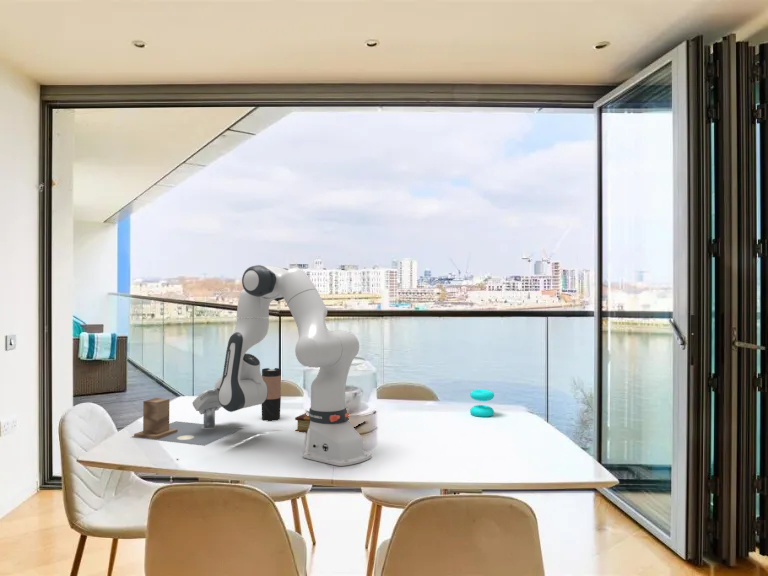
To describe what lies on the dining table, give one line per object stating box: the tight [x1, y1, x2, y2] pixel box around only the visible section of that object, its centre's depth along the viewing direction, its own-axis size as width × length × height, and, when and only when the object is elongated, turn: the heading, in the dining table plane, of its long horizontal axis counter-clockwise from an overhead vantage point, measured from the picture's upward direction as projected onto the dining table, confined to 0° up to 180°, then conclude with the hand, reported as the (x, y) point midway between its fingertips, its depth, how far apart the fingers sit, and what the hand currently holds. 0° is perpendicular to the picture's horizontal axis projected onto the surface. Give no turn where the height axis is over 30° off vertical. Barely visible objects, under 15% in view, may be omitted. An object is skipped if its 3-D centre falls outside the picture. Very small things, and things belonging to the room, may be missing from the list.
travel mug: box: [261, 367, 282, 422], centre depth 222 cm, size 8×8×20 cm
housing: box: [133, 397, 178, 439], centre depth 194 cm, size 10×10×12 cm
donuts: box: [469, 389, 495, 418], centre depth 233 cm, size 10×10×10 cm
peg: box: [203, 407, 216, 428], centre depth 204 cm, size 4×4×10 cm
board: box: [131, 420, 245, 447], centre depth 196 cm, size 30×24×1 cm
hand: (208, 410), depth 205 cm, fingers open, 5 cm apart
